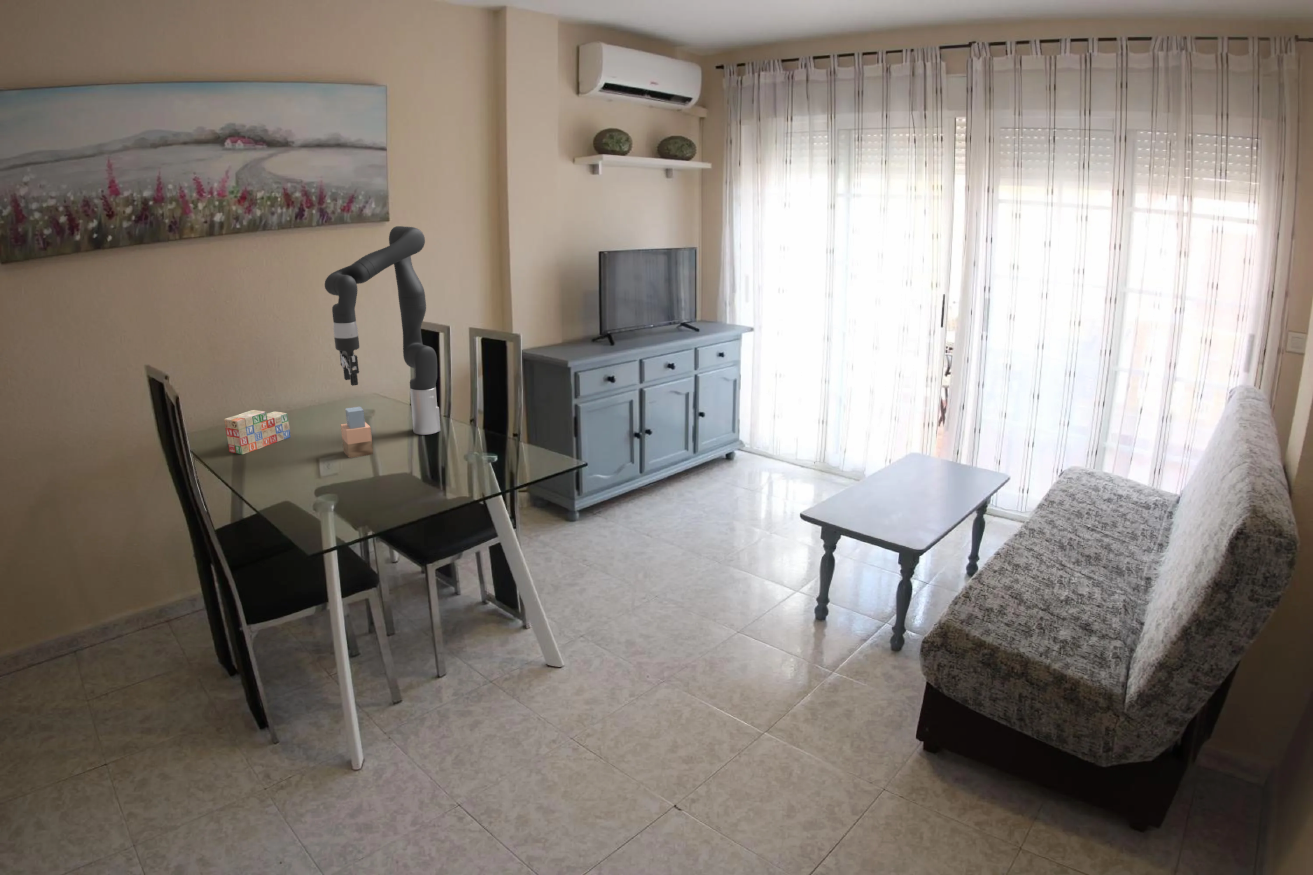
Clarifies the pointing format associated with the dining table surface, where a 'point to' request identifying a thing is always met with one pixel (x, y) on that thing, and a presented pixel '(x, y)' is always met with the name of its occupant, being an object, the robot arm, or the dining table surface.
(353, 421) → the slate block
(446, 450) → the dining table surface
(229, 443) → the stack of blocks
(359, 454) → the tower base
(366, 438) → the tower top
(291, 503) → the dining table surface
